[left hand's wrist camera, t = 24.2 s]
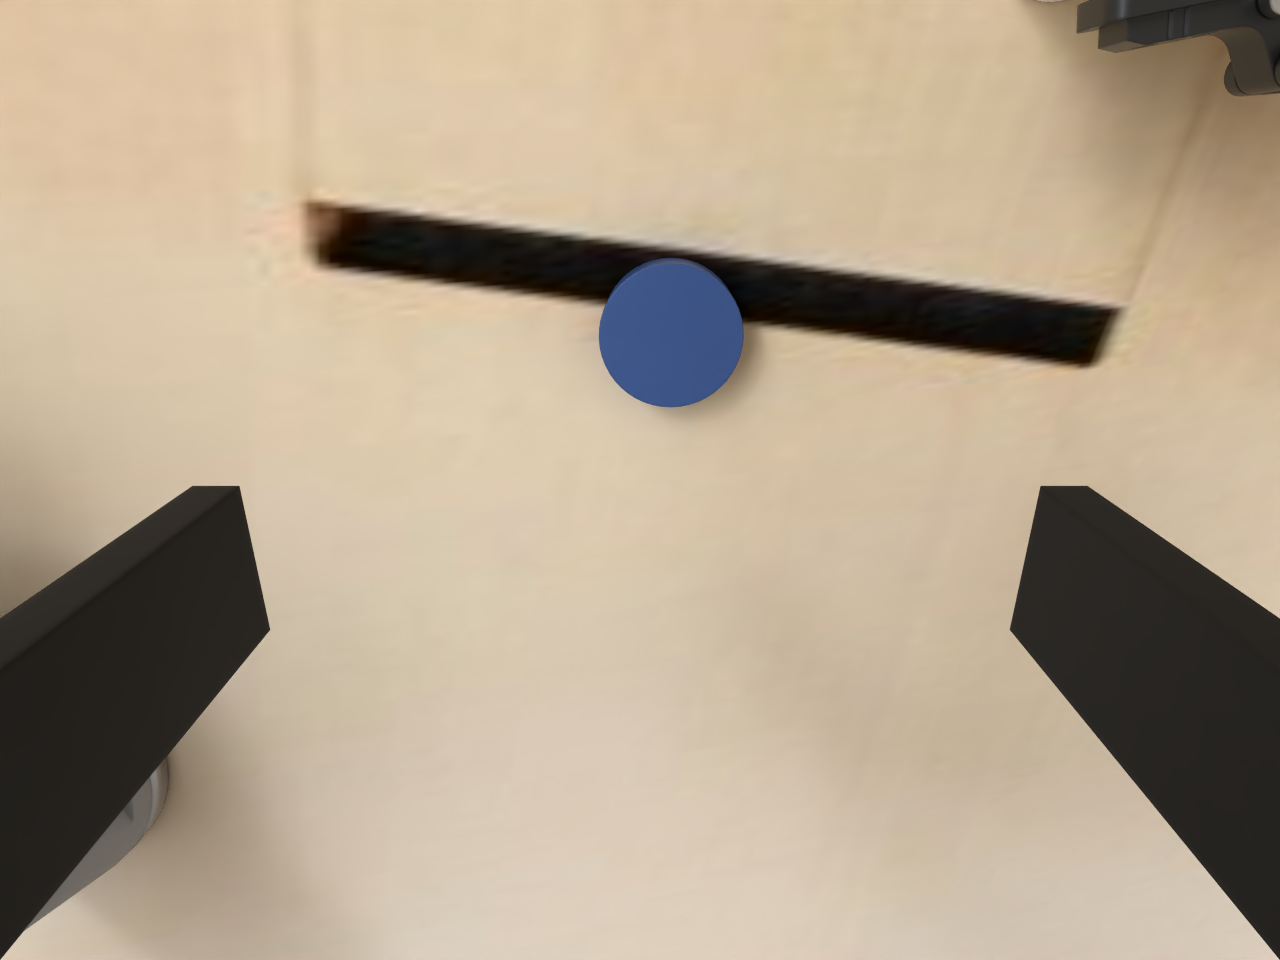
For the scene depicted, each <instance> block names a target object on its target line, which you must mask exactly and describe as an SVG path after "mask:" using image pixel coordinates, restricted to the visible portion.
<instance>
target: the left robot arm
mask: <svg viewBox="0 0 1280 960" xmlns="http://www.w3.org/2000/svg"><path fill="white" fill-rule="evenodd" d="M269 631H270V627H269V622H268V617H267V613H266V608H265V603H264V599H263V594H262V589H261V585H260V580H259V575H258V571H257V566H256V561H255V557H254V552H253V547H252V543H251V538H250V533H249V529H248V524H247V519H246V515H245V510H244V505H243V501H242V496H241V491H240V487H239V486H192V487H190V488H189V489H188V490H186V491H185V492H183V493H182V494H180V495H179V496H177V497H176V498H175V499H173V500H172V501H170V502H169V503H167V504H166V505H164V506H163V507H161V508H160V509H159V510H157V511H156V512H154V513H153V514H151V515H150V516H148V517H147V518H145V519H144V520H143V521H141V522H140V523H138V524H137V525H135V526H134V527H132V528H131V529H130V530H128V531H127V532H125V533H124V534H122V535H121V536H119V537H118V538H116V539H115V540H114V541H112V542H111V543H109V544H108V545H106V546H105V547H103V548H102V549H101V550H99V551H98V552H96V553H95V554H93V555H92V556H90V557H89V558H87V559H86V560H85V561H83V562H82V563H80V564H79V565H77V566H76V567H74V568H73V569H71V570H70V571H69V572H67V573H66V574H64V575H63V576H61V577H60V578H58V579H57V580H56V581H54V582H53V583H51V584H50V585H48V586H47V587H45V588H44V589H42V590H41V591H40V592H38V593H37V594H35V595H34V596H32V597H31V598H29V599H28V600H26V601H25V602H24V603H22V604H21V605H19V606H18V607H16V608H15V609H13V610H12V611H11V612H9V613H8V614H6V615H5V616H3V617H2V618H0V959H1V958H2V957H3V956H4V954H5V953H6V952H7V951H8V950H9V948H10V947H11V946H12V945H13V943H14V942H15V941H16V940H17V939H18V937H19V936H20V935H21V934H22V932H23V931H24V930H26V929H27V928H29V927H30V926H31V925H33V924H34V923H36V922H37V921H38V920H40V919H41V918H43V917H44V916H45V915H47V914H48V913H50V912H51V911H52V910H54V909H55V908H56V907H58V906H59V905H61V904H62V903H63V902H65V901H66V900H68V899H69V898H70V897H72V896H73V895H75V894H76V893H77V892H79V891H80V890H82V889H83V888H84V887H86V886H87V885H89V884H90V883H91V882H93V881H94V880H95V879H97V878H98V877H100V876H101V875H102V874H104V873H105V872H107V871H108V870H109V869H111V868H112V867H113V866H115V865H116V864H117V863H118V862H119V861H120V860H121V859H122V858H123V857H124V856H125V855H126V854H127V853H128V852H129V851H130V850H131V849H132V848H133V847H134V846H135V845H136V844H137V843H138V842H139V841H140V839H141V838H142V837H143V835H144V834H145V833H146V832H147V830H148V829H149V828H150V826H151V825H152V824H153V823H154V821H155V820H156V818H157V817H158V815H159V813H160V812H161V809H162V807H163V805H164V802H165V798H166V795H167V788H168V769H167V762H166V756H167V755H168V754H169V753H170V752H171V750H172V749H173V748H174V747H175V745H176V744H177V743H178V742H179V741H180V739H181V738H182V737H183V736H184V734H185V733H186V732H187V731H188V730H189V728H190V727H191V726H192V725H193V723H194V722H195V721H196V720H197V719H198V717H199V716H200V715H201V714H202V712H203V711H204V710H205V709H206V708H207V706H208V705H209V704H210V703H211V701H212V700H213V699H214V698H215V697H216V695H217V694H218V693H219V692H220V690H221V689H222V688H223V687H224V686H225V684H226V683H227V682H228V681H229V679H230V678H231V677H232V676H233V675H234V673H235V672H236V671H237V670H238V668H239V667H240V666H241V665H242V664H243V662H244V661H245V660H246V659H247V657H248V656H249V655H250V654H251V653H252V651H253V650H254V649H255V648H256V646H257V645H258V644H259V643H260V642H261V640H262V639H263V638H264V637H265V635H266V634H267V633H268V632H269ZM1010 631H1011V632H1012V633H1013V634H1014V635H1015V637H1016V638H1017V639H1018V640H1019V642H1020V643H1021V644H1022V645H1023V646H1024V648H1025V649H1026V650H1027V651H1028V653H1029V654H1030V655H1031V656H1032V657H1033V659H1034V660H1035V661H1036V662H1037V664H1038V665H1039V666H1040V667H1041V668H1042V670H1043V671H1044V672H1045V673H1046V675H1047V676H1048V677H1049V678H1050V679H1051V681H1052V682H1053V683H1054V684H1055V686H1056V687H1057V688H1058V689H1059V690H1060V692H1061V693H1062V694H1063V695H1064V697H1065V698H1066V699H1067V700H1068V701H1069V703H1070V704H1071V705H1072V706H1073V708H1074V709H1075V710H1076V711H1077V712H1078V714H1079V715H1080V716H1081V717H1082V719H1083V720H1084V721H1085V722H1086V723H1087V725H1088V726H1089V727H1090V728H1091V730H1092V731H1093V732H1094V733H1095V734H1096V736H1097V737H1098V738H1099V739H1100V741H1101V742H1102V743H1103V744H1104V745H1105V747H1106V748H1107V749H1108V750H1109V752H1110V753H1111V754H1112V755H1113V756H1114V758H1115V759H1116V760H1117V761H1118V763H1119V764H1120V765H1121V766H1122V767H1123V769H1124V770H1125V771H1126V772H1127V774H1128V775H1129V776H1130V777H1131V778H1132V780H1133V781H1134V782H1135V783H1136V785H1137V786H1138V787H1139V788H1140V789H1141V791H1142V792H1143V793H1144V794H1145V796H1146V797H1147V798H1148V799H1149V800H1150V802H1151V803H1152V804H1153V805H1154V807H1155V808H1156V809H1157V810H1158V811H1159V813H1160V814H1161V815H1162V816H1163V818H1164V819H1165V820H1166V821H1167V822H1168V824H1169V825H1170V826H1171V827H1172V829H1173V830H1174V831H1175V832H1176V833H1177V835H1178V836H1179V837H1180V838H1181V840H1182V841H1183V842H1184V843H1185V844H1186V846H1187V847H1188V848H1189V849H1190V851H1191V852H1192V853H1193V854H1194V855H1195V857H1196V858H1197V859H1198V860H1199V862H1200V863H1201V864H1202V865H1203V866H1204V868H1205V869H1206V870H1207V871H1208V873H1209V874H1210V875H1211V876H1212V877H1213V879H1214V880H1215V881H1216V882H1217V884H1218V885H1219V886H1220V887H1221V888H1222V890H1223V891H1224V892H1225V893H1226V895H1227V896H1228V897H1229V898H1230V899H1231V901H1232V902H1233V903H1234V904H1235V906H1236V907H1237V908H1238V909H1239V910H1240V912H1241V913H1242V914H1243V915H1244V917H1245V918H1246V919H1247V920H1248V921H1249V923H1250V924H1251V925H1252V926H1253V928H1254V929H1255V930H1256V931H1257V932H1258V934H1259V935H1260V936H1261V937H1262V939H1263V940H1264V941H1265V942H1266V943H1267V945H1268V946H1269V947H1270V948H1271V950H1272V951H1273V952H1274V953H1275V954H1276V956H1277V957H1278V958H1279V959H1280V618H1278V617H1277V616H1275V615H1274V614H1272V613H1271V612H1269V611H1268V610H1267V609H1265V608H1264V607H1262V606H1261V605H1259V604H1258V603H1256V602H1255V601H1253V600H1252V599H1251V598H1249V597H1248V596H1246V595H1245V594H1243V593H1242V592H1240V591H1239V590H1238V589H1236V588H1235V587H1233V586H1232V585H1230V584H1229V583H1227V582H1226V581H1224V580H1223V579H1222V578H1220V577H1219V576H1217V575H1216V574H1214V573H1213V572H1211V571H1210V570H1209V569H1207V568H1206V567H1204V566H1203V565H1201V564H1200V563H1198V562H1197V561H1195V560H1194V559H1193V558H1191V557H1190V556H1188V555H1187V554H1185V553H1184V552H1182V551H1181V550H1179V549H1178V548H1177V547H1175V546H1174V545H1172V544H1171V543H1169V542H1168V541H1166V540H1165V539H1164V538H1162V537H1161V536H1159V535H1158V534H1156V533H1155V532H1153V531H1152V530H1150V529H1149V528H1148V527H1146V526H1145V525H1143V524H1142V523H1140V522H1139V521H1137V520H1136V519H1135V518H1133V517H1132V516H1130V515H1129V514H1127V513H1126V512H1124V511H1123V510H1121V509H1120V508H1119V507H1117V506H1116V505H1114V504H1113V503H1111V502H1110V501H1108V500H1107V499H1105V498H1104V497H1103V496H1101V495H1100V494H1098V493H1097V492H1095V491H1094V490H1092V489H1091V488H1090V487H1088V486H1041V487H1040V491H1039V496H1038V501H1037V505H1036V510H1035V515H1034V519H1033V524H1032V529H1031V533H1030V538H1029V543H1028V547H1027V552H1026V557H1025V561H1024V566H1023V571H1022V575H1021V580H1020V585H1019V589H1018V594H1017V599H1016V603H1015V608H1014V613H1013V617H1012V622H1011V627H1010Z"/></svg>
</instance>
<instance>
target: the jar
mask: <svg viewBox="0 0 1280 960" xmlns="http://www.w3.org/2000/svg"><path fill="white" fill-rule="evenodd" d="M1037 1H1042V2H1056V1H1062V0H1037Z"/></svg>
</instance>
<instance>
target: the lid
mask: <svg viewBox="0 0 1280 960" xmlns="http://www.w3.org/2000/svg"><path fill="white" fill-rule="evenodd" d="M599 344H600V350H601V355H602V358H603V361H604V363H605V366H606V368H607V370H608V371H609V373H610V375H611V376H612V378H613V379H614V380H615V382H616V383H617V384H618V385H619V386H620V387H621V388H622V389H623V390H625V391H626V392H627V393H628V394H630V395H631V396H633V397H634V398H636V399H638V400H640V401H643V402H645V403H648V404H651V405H655V406H661V407H680V406H685V405H690V404H693V403H696V402H698V401H701V400H703V399H705V398H707V397H708V396H710V395H711V394H713V393H714V392H715V391H717V390H718V389H719V388H720V387H721V386H722V385H723V384H724V383H725V382H726V381H727V380H728V378H729V377H730V375H731V374H732V373H733V371H734V369H735V367H736V365H737V363H738V360H739V358H740V354H741V350H742V346H743V324H742V318H741V315H740V311H739V308H738V306H737V304H736V302H735V300H734V298H733V296H732V295H731V293H730V291H729V290H728V288H727V287H726V285H725V284H724V283H723V282H722V280H721V279H720V278H719V277H718V276H717V275H716V274H714V273H713V272H712V271H710V270H709V269H708V268H706V267H704V266H702V265H700V264H698V263H696V262H693V261H690V260H686V259H681V258H661V259H657V260H652V261H649V262H647V263H644V264H642V265H640V266H638V267H636V268H635V269H633V270H632V271H630V272H629V273H628V274H626V275H625V276H624V277H623V278H622V279H621V280H620V281H619V283H618V284H617V285H616V286H615V288H614V289H613V291H612V293H611V294H610V296H609V299H608V301H607V303H606V306H605V308H604V311H603V314H602V317H601V321H600V327H599Z"/></svg>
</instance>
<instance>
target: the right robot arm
mask: <svg viewBox="0 0 1280 960" xmlns="http://www.w3.org/2000/svg"><path fill="white" fill-rule="evenodd" d="M1094 30H1099V42H1098V49H1102V50H1106V51H1111V52H1115V53H1118V52H1123V51H1128V50H1133V49H1138V48H1143V47H1148V46H1153V45H1158V44H1163V43H1168V42H1173V41H1178V40H1183V39H1188V38H1193V37H1198V36H1204V35H1212V36H1216V37H1218V38H1220V39H1221V40H1222V41H1223V42H1224V43H1225V44H1226V46H1227V48H1228V51H1229V55H1230V59H1231V62H1230V63H1229V65H1228V67H1227V69H1226V72H1225V76H1224V83H1225V87H1226V89H1227V90H1228V92H1229V93H1231V94H1232V95H1235V96H1251V95H1264V94H1277V93H1280V0H1090V1H1087V2H1085V3H1082V4H1080V5H1078V6H1077V33H1084V32H1089V31H1094Z"/></svg>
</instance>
